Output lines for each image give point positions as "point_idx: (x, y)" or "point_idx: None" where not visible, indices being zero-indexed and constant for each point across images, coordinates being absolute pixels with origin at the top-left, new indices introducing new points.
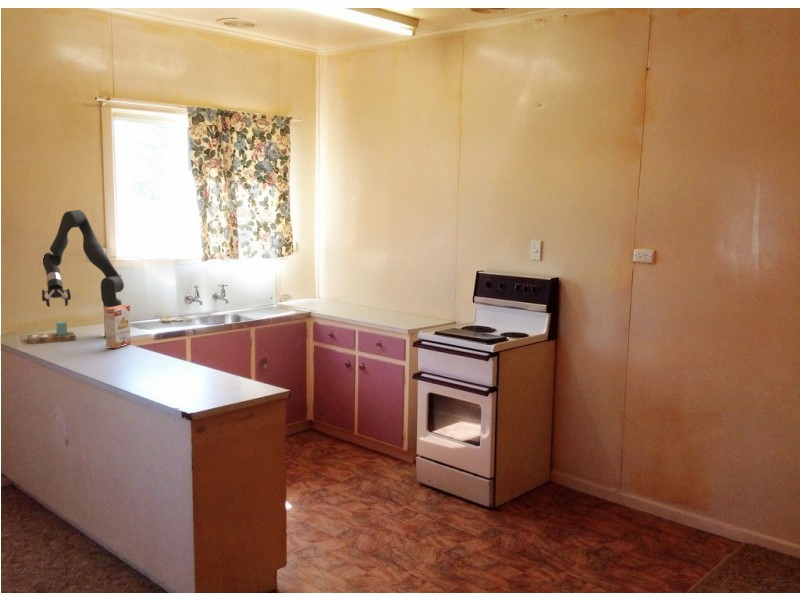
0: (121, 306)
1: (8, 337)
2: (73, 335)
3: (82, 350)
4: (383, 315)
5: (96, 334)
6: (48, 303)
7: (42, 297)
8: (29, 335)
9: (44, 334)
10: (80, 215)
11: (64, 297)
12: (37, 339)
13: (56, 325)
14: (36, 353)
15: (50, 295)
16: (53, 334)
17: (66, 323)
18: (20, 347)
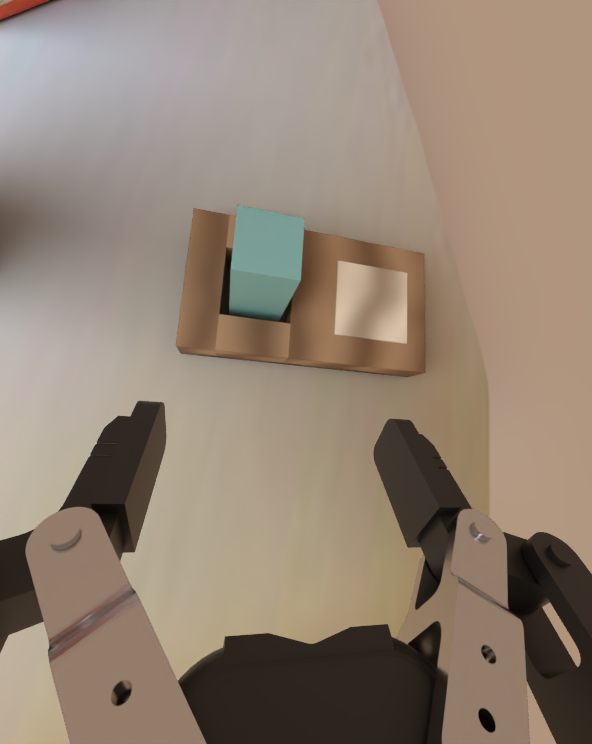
0: None
1: None
2: (203, 224)
3: (223, 24)
4: None
5: (8, 372)
6: (415, 435)
7: (578, 560)
8: (417, 356)
9: (347, 331)
10: None
11: (113, 548)
12: (387, 249)
13: (295, 288)
14: (397, 95)
15: (467, 597)
16: (301, 316)
17: (238, 207)
18: (442, 240)
